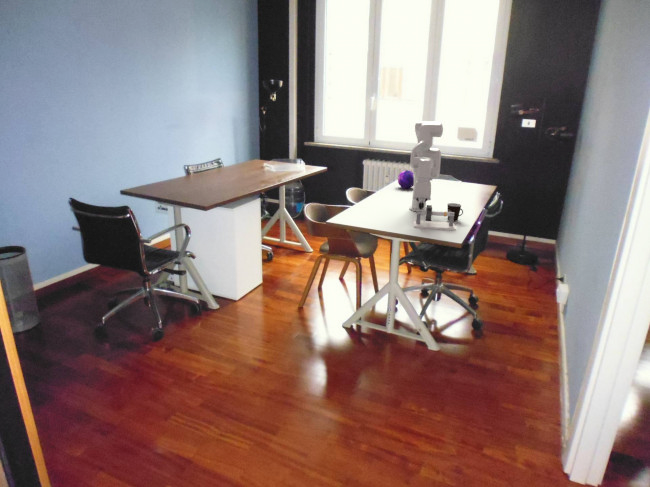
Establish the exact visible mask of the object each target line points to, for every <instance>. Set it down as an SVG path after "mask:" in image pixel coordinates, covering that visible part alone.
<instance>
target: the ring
mask: <svg viewBox="0 0 650 487" xmlns="http://www.w3.org/2000/svg"><path fill="white" fill-rule="evenodd" d="M426 211H427V213H426V215H425V221H432V217H433V215H432V211H433V206H432V205H431V204H430V205H429V204H426Z"/></svg>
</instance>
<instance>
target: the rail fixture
mask: <svg viewBox="0 0 650 487" xmlns="http://www.w3.org/2000/svg"><path fill="white" fill-rule="evenodd" d="M426 213H427V211H421V210H417V211H416V217H415V218H416V219H415V220H413V228H417V229H430V230H431V229H432V230H443V231H444V230H446V231H457V228H456V224H455V223H454V222H455V221H454V212H448V211H434V210H432V216H434V217H435V216H436V217H444V218H445V217H448V216H450V218H449V220H448V221H447V222H446V221H432V220H431V221H426V220H421V217H422V216H426Z"/></svg>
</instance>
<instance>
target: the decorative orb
mask: <svg viewBox="0 0 650 487" xmlns="http://www.w3.org/2000/svg"><path fill="white" fill-rule="evenodd" d="M397 176H398V177H397V183H398V185H399V186H400V187H401V188H403V189H406V190H407V189H411V188H413V186H414V172H413V171H411V170H410V169H409V170H403V171H401V172H400V173H399V175H397Z"/></svg>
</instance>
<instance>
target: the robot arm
mask: <svg viewBox="0 0 650 487" xmlns="http://www.w3.org/2000/svg"><path fill="white" fill-rule="evenodd" d="M414 132H415V135H416V136H415V137H416V139H417V144H416V145H415V146H414V147H413V148H412V150H411V152H410V163H409V165H410V167H411V168H412V169H413V171H412V172H413V173H414V186H413V187H412V198H411V206H409V210H410V211H413V212H417V210H421V211H426V207H427V201H431V200H432V198H431V194H432V183H431V181H433V180H437V179H439V177H440V174H441V173H440V172H441V161H442V157H441V156H442V154H441V153H442V152H441V150H440V149H438V148H432V146H433V141H434V139H433V138H441V137H442V135H443V132H444V127H443V124H442V122H441V121H431V120H430V121H428V120H424V121H423V120H422V121H421V120H420V121H417V122H416V123H415V125H414Z"/></svg>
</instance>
